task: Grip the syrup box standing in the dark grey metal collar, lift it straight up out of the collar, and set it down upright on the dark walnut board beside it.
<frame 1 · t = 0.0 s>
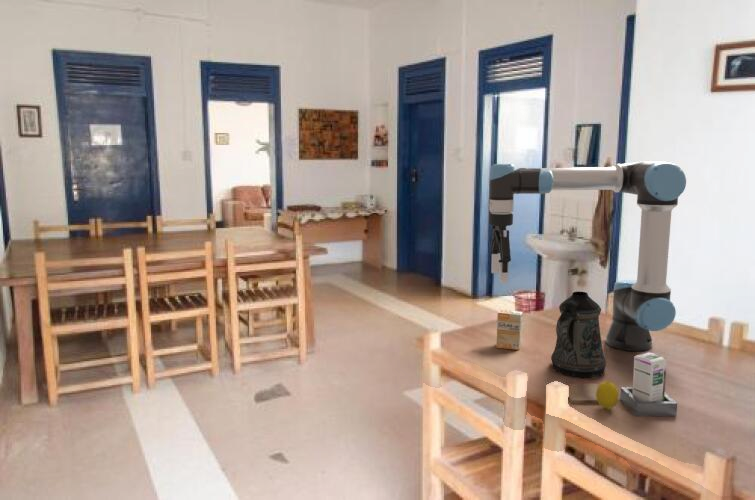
hand: (499, 277, 185), 28 cm above the table, tool pointing down, fingers open, 13 cm apart
walnut board: (585, 395, 162), on the table
lemon: (606, 409, 153), on the table
metal collar: (647, 407, 154), on the table
syrup box: (647, 407, 154), resting in metal collar
supplement box: (508, 347, 201), on the table
beer stein: (577, 371, 179), on the table
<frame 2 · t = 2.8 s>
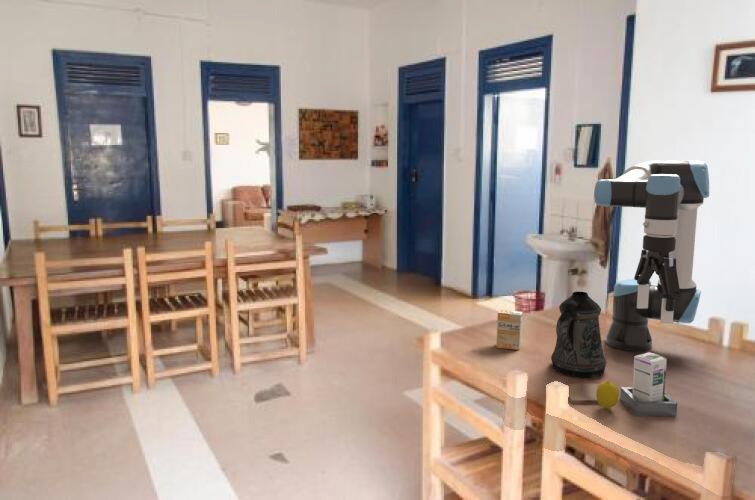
hand: (653, 315, 149), 26 cm above the table, tool pointing down, fingers open, 13 cm apart
nothing on the table moved.
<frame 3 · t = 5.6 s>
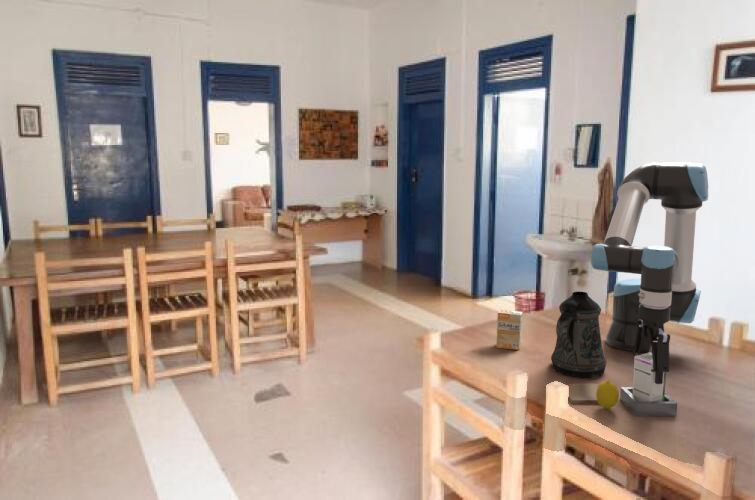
hand: (648, 387, 153), 6 cm above the table, tool pointing down, fingers closed on syrup box, 7 cm apart
syrup box: (647, 407, 154), resting in metal collar, touching gripper
everything else where it was.
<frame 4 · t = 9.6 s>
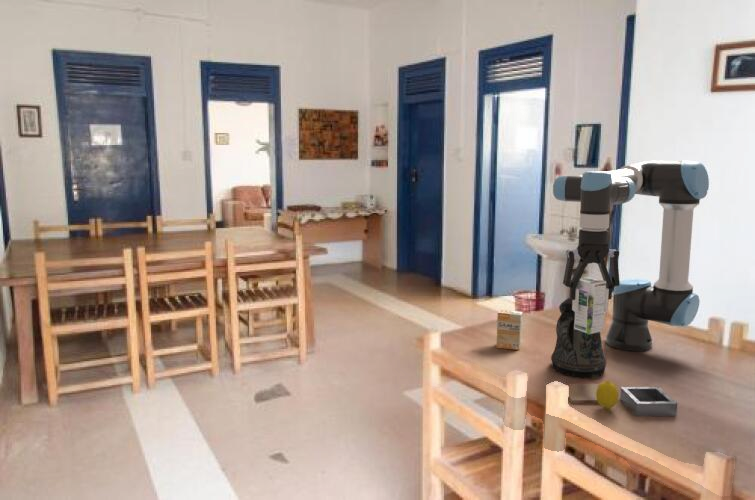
hand: (589, 310, 157), 25 cm above the table, tool pointing down, fingers closed on syrup box, 7 cm apart
syrup box: (588, 330, 158), point 19 cm above the table, touching gripper
everything else where it was.
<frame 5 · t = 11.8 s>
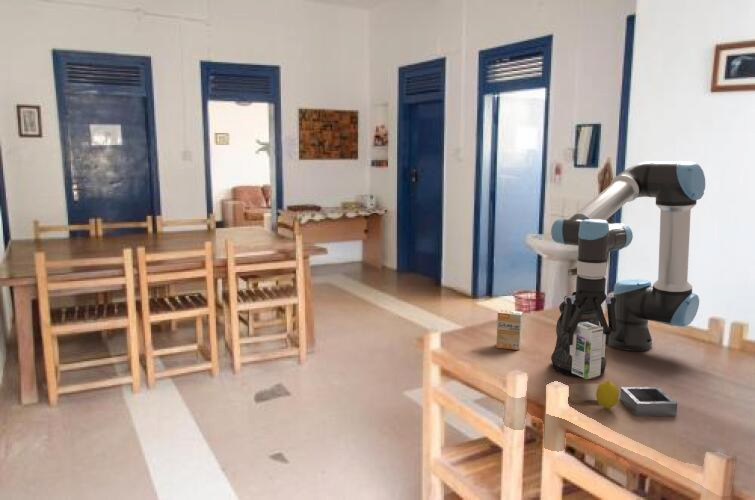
hand: (586, 355, 160), 12 cm above the table, tool pointing down, fingers closed on syrup box, 7 cm apart
syrup box: (585, 375, 161), point 6 cm above the table, touching gripper
everything else where it was.
when the fingers open (8 cm above the table, at t = 13.5 s): syrup box drops 1 cm, resting on walnut board.
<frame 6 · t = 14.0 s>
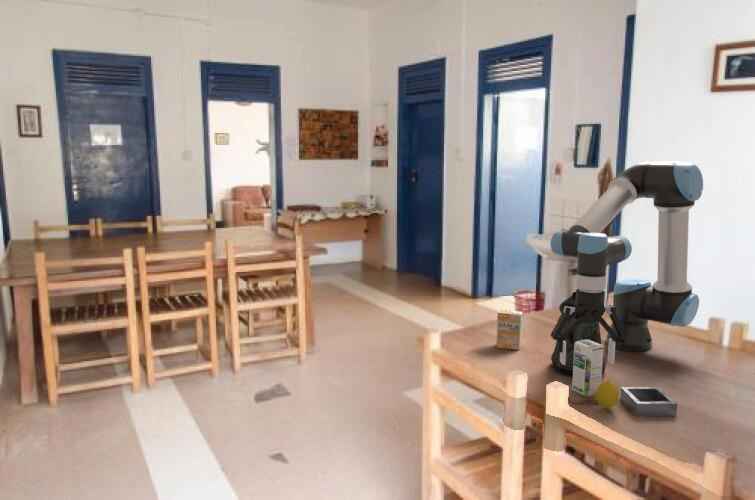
hand: (586, 362, 160), 10 cm above the table, tool pointing down, fingers open, 13 cm apart
syrup box: (586, 392, 162), point 1 cm above the table, touching walnut board
everything else where it was.
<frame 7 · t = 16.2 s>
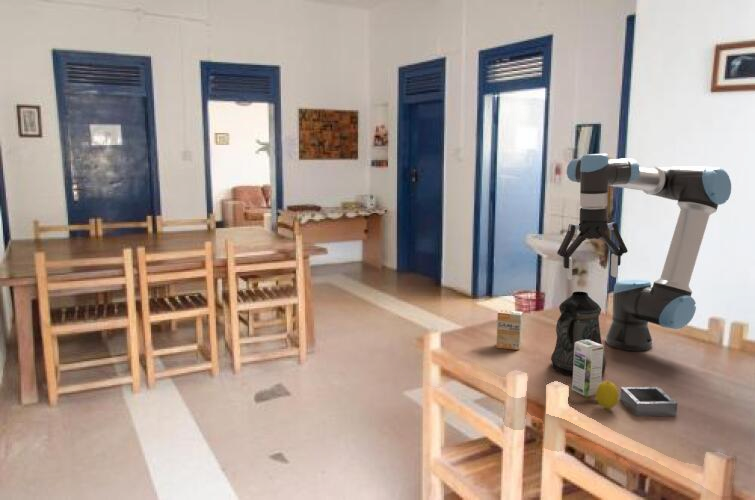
hand: (591, 277, 171), 31 cm above the table, tool pointing down, fingers open, 13 cm apart
nothing on the table moved.
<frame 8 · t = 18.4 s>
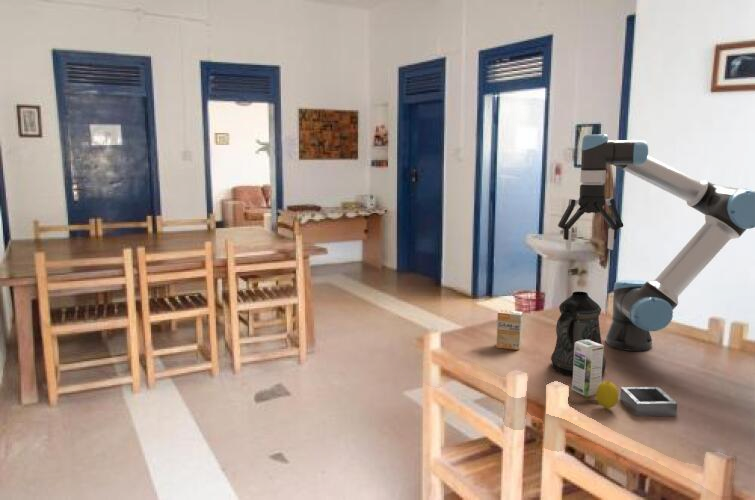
hand: (589, 249, 185), 37 cm above the table, tool pointing down, fingers open, 13 cm apart
nothing on the table moved.
at the end: syrup box 0.3 cm off-centre on the walnut board, point 0.8 cm above the walnut board's base; syrup box tilted 0°; syrup box touching walnut board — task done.
